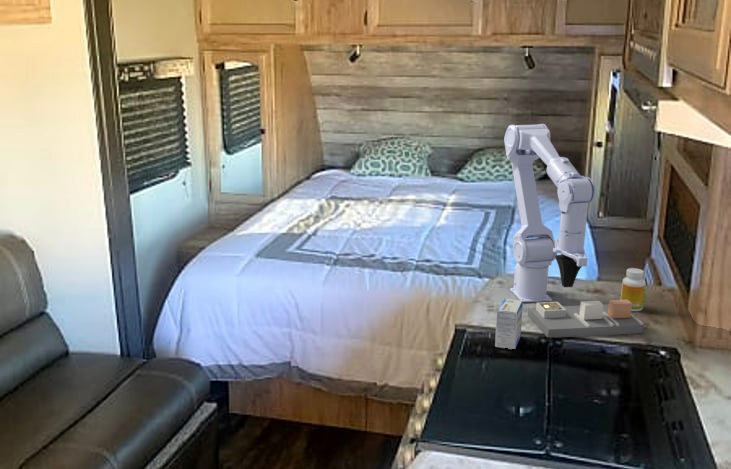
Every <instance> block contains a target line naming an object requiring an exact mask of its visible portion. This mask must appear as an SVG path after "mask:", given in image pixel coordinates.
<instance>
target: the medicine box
mask: <svg viewBox="0 0 731 469" xmlns="http://www.w3.org/2000/svg"><path fill="white" fill-rule="evenodd" d="M523 306H524V302H523V301H520V300H519V299H512V298H504V299H503V300H502V302H501V304H500V305H499V308H498V309H497V311H496V319H495V320H496V322H495V336H494V338H495V343H494V346H495V347H496V348H500V349H505V348H508V349H507V350H512V349H515V350H516V348H517V346H518V343H519V341H520V339H521V336H522V334H521V333H522V322H523V321H522V320H523V309H524V308H523Z"/></svg>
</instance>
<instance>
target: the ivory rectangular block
mask: <svg viewBox="0 0 731 469" xmlns="http://www.w3.org/2000/svg"><path fill="white" fill-rule="evenodd" d="M603 305H604V304H603V303H602V302H601V301H600V300H590V301H589V300H587V301H586V300H584V301H583V300H582V301H580V305H579V306H580V314H579V316H580V317H581V318H583V319H584V320H589V319H602V315H603Z"/></svg>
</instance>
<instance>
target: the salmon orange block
mask: <svg viewBox="0 0 731 469" xmlns="http://www.w3.org/2000/svg"><path fill="white" fill-rule="evenodd" d="M608 304H609V308H608V315H609V316H611V317H612V318H631V314H632V312H633V311H632V303H631V302H630V301H629V300H620V299H609V301H608Z"/></svg>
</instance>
